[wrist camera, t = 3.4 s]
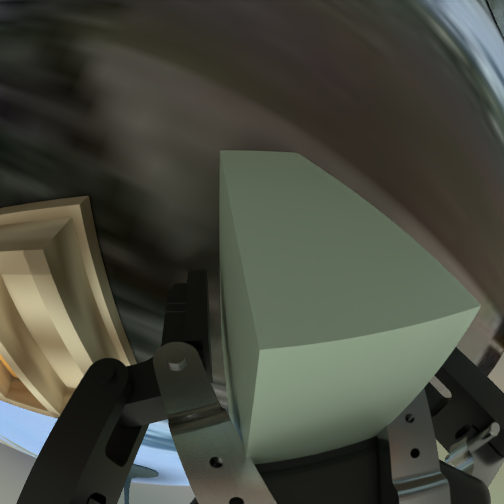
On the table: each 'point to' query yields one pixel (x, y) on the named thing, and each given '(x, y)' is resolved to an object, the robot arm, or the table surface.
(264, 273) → the block
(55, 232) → the rack
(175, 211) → the table surface
